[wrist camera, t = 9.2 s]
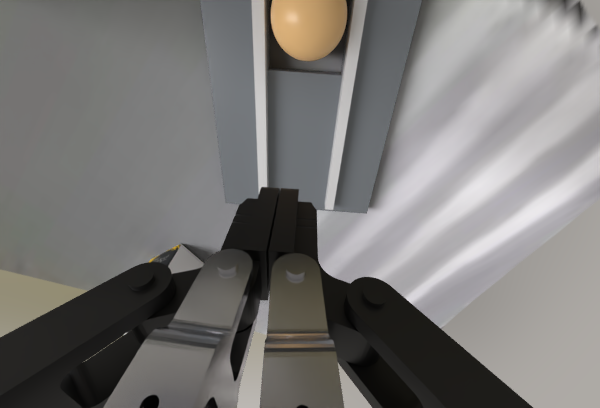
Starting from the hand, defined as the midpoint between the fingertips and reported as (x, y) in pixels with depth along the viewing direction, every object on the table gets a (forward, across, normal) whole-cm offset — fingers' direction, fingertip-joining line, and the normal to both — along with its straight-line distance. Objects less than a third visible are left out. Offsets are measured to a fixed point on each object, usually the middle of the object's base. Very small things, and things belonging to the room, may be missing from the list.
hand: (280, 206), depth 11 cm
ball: (+16, 0, -7) cm, 18 cm away
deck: (+19, 0, 0) cm, 19 cm away
